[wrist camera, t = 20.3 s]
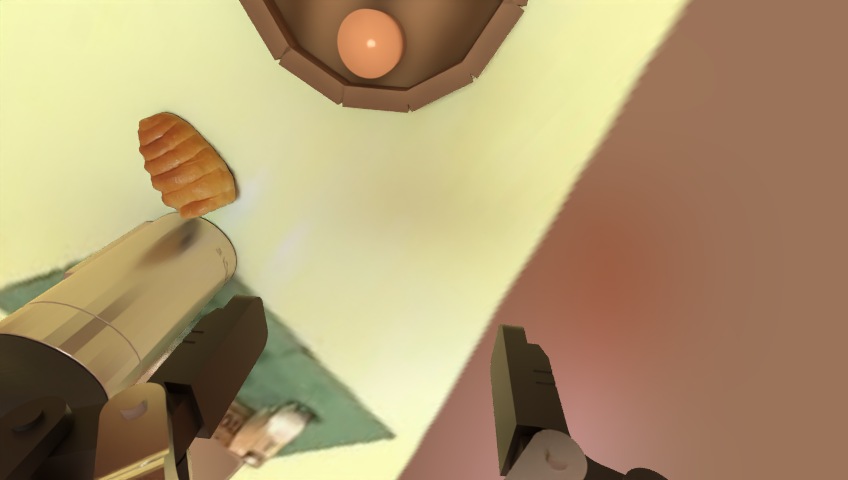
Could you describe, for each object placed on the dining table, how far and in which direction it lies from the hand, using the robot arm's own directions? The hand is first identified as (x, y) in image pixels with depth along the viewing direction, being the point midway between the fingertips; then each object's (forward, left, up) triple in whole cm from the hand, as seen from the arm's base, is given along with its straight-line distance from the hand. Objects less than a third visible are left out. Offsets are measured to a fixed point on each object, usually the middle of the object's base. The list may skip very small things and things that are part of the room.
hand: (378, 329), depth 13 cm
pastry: (-22, -5, -24) cm, 32 cm away
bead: (-4, +8, -22) cm, 24 cm away
